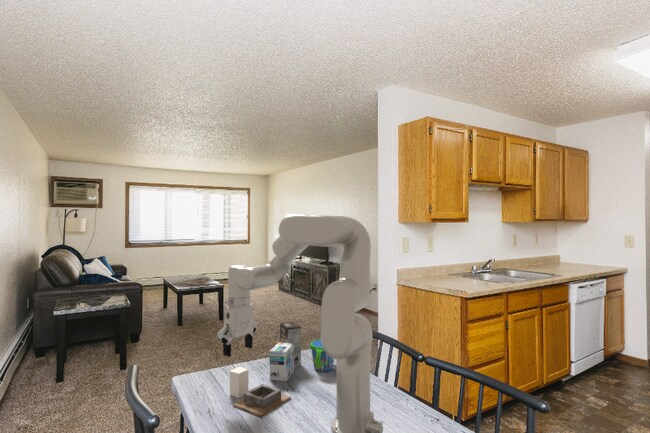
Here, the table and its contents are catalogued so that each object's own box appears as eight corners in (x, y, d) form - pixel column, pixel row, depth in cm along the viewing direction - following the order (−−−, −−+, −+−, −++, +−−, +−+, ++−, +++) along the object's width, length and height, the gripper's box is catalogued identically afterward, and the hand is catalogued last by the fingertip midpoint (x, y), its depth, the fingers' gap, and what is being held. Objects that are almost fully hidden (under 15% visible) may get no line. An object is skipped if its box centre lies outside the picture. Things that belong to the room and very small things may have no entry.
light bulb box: (286, 381, 133) (286, 352, 133) (268, 380, 134) (268, 350, 135) (294, 370, 143) (294, 342, 144) (278, 369, 145) (278, 341, 145)
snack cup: (328, 378, 136) (328, 350, 136) (303, 374, 140) (303, 347, 140) (342, 363, 150) (342, 338, 151) (318, 360, 154) (318, 336, 154)
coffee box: (279, 360, 154) (279, 322, 154) (293, 358, 156) (293, 320, 157) (286, 368, 145) (286, 328, 146) (301, 365, 148) (301, 326, 148)
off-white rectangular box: (248, 393, 124) (248, 369, 124) (238, 398, 120) (238, 373, 121) (239, 389, 126) (239, 366, 127) (229, 394, 123) (229, 370, 123)
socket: (290, 398, 120) (290, 388, 120) (261, 417, 108) (261, 405, 108) (264, 389, 126) (264, 379, 127) (233, 406, 115) (233, 395, 115)
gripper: (226, 307, 115) (225, 361, 115) (264, 298, 129) (263, 346, 129) (211, 304, 119) (210, 356, 119) (249, 296, 134) (248, 342, 133)
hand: (238, 351), depth 124 cm, fingers open, 9 cm apart
